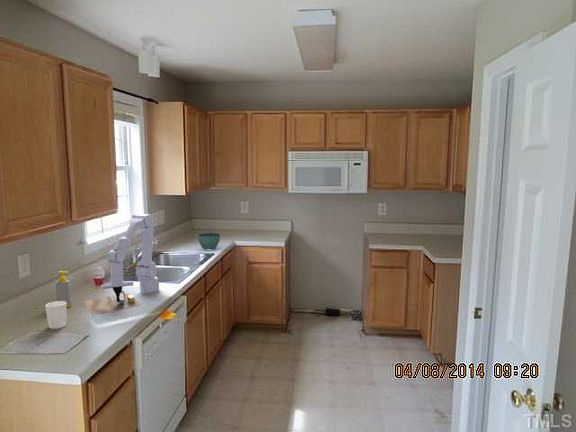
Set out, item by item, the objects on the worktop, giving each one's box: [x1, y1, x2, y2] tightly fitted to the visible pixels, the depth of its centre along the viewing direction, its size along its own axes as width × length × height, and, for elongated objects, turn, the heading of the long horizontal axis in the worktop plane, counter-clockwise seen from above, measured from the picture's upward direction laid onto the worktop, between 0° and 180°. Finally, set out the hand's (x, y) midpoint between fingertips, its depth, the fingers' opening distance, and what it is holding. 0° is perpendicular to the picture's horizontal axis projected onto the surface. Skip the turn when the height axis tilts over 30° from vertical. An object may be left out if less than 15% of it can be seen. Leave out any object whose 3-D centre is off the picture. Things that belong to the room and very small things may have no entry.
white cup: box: [44, 301, 68, 330], centre depth 174 cm, size 8×8×10 cm
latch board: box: [82, 292, 142, 316], centre depth 199 cm, size 22×24×2 cm
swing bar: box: [119, 290, 125, 305], centre depth 201 cm, size 16×3×3 cm, turn 24°
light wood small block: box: [127, 294, 136, 303], centre depth 200 cm, size 2×4×3 cm, turn 36°
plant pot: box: [197, 232, 221, 250], centre depth 331 cm, size 18×18×12 cm
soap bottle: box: [55, 270, 73, 309], centre depth 198 cm, size 7×7×18 cm
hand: (118, 301), depth 197 cm, fingers closed, pressing on swing bar
